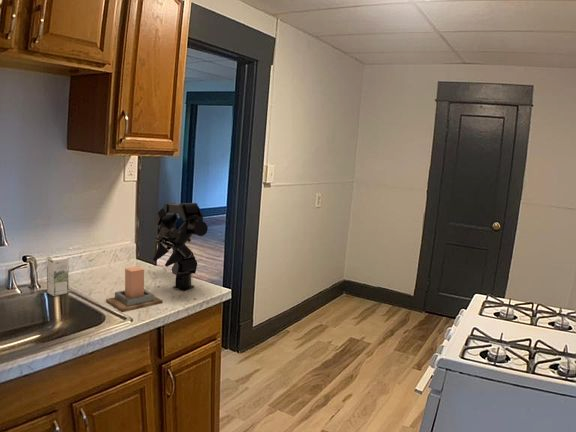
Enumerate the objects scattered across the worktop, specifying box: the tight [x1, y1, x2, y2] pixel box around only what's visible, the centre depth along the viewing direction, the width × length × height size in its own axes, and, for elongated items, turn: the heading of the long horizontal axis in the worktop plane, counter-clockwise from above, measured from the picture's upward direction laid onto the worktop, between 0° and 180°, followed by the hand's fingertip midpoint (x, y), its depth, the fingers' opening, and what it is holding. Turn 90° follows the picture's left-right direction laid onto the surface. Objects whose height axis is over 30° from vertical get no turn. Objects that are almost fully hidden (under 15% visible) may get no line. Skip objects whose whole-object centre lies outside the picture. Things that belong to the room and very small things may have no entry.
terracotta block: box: [124, 266, 145, 298], centre depth 173 cm, size 5×5×12 cm
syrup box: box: [46, 254, 70, 297], centre depth 177 cm, size 6×6×14 cm
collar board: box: [105, 288, 163, 313], centre depth 174 cm, size 16×13×4 cm
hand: (159, 263), depth 179 cm, fingers open, 9 cm apart
